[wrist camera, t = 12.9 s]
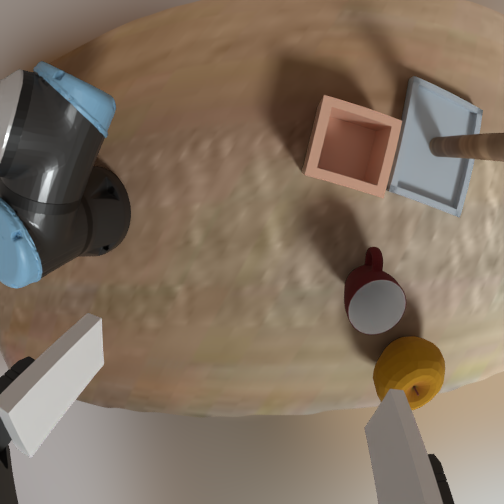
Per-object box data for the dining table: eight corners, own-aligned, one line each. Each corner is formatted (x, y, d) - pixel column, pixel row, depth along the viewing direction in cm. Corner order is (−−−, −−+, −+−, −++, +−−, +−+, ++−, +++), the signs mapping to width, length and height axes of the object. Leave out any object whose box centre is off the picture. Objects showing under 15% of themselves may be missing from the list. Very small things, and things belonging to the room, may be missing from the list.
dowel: (427, 152, 38) (498, 155, 21) (431, 134, 38) (502, 127, 20) (443, 159, 38) (517, 166, 21) (447, 141, 37) (521, 140, 20)
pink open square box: (301, 172, 43) (304, 174, 35) (317, 105, 40) (324, 94, 32) (367, 191, 42) (383, 198, 35) (383, 126, 39) (402, 120, 32)
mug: (335, 240, 45) (347, 262, 36) (386, 236, 44) (409, 256, 34) (337, 304, 48) (346, 338, 38) (384, 299, 47) (403, 331, 37)
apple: (389, 389, 52) (403, 431, 41) (352, 355, 51) (363, 399, 40) (441, 349, 48) (464, 385, 38) (408, 308, 47) (433, 345, 36)
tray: (453, 214, 41) (459, 217, 39) (384, 189, 42) (389, 191, 40) (475, 111, 36) (482, 110, 34) (408, 79, 36) (414, 75, 34)
